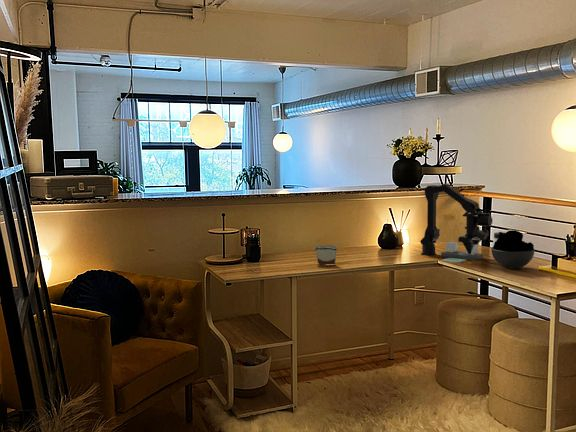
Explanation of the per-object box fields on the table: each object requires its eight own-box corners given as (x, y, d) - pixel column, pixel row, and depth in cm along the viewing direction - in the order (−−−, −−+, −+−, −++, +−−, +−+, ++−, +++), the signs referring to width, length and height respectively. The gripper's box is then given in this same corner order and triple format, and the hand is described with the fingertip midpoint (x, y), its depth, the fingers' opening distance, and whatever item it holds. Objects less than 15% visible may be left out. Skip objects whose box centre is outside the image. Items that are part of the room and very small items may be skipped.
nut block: (465, 259, 307) (465, 244, 306) (470, 257, 310) (470, 243, 309) (473, 260, 304) (473, 245, 303) (477, 258, 307) (477, 244, 306)
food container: (340, 263, 306) (339, 245, 305) (337, 265, 300) (337, 247, 299) (318, 262, 310) (318, 244, 309) (315, 265, 304) (314, 246, 303)
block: (446, 256, 316) (446, 242, 315) (450, 255, 319) (450, 241, 318) (453, 257, 313) (453, 243, 312) (457, 256, 316) (457, 242, 315)
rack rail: (440, 257, 315) (440, 252, 315) (450, 254, 322) (450, 250, 322) (473, 261, 301) (473, 256, 300) (483, 258, 307) (483, 253, 307)
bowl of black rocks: (530, 264, 287) (530, 228, 285) (538, 273, 267) (538, 233, 265) (488, 264, 291) (488, 228, 289) (493, 272, 272) (493, 233, 270)
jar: (502, 256, 312) (503, 234, 310) (490, 254, 318) (490, 233, 317) (512, 254, 317) (513, 233, 315) (500, 252, 323) (500, 231, 322)
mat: (441, 260, 305) (441, 259, 305) (449, 258, 310) (449, 257, 310) (458, 262, 298) (458, 262, 298) (466, 260, 303) (466, 259, 303)
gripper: (477, 227, 293) (476, 257, 295) (494, 224, 305) (494, 252, 307) (457, 226, 301) (457, 255, 303) (475, 222, 314) (475, 250, 315)
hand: (471, 253), depth 307 cm, fingers closed on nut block, 4 cm apart
